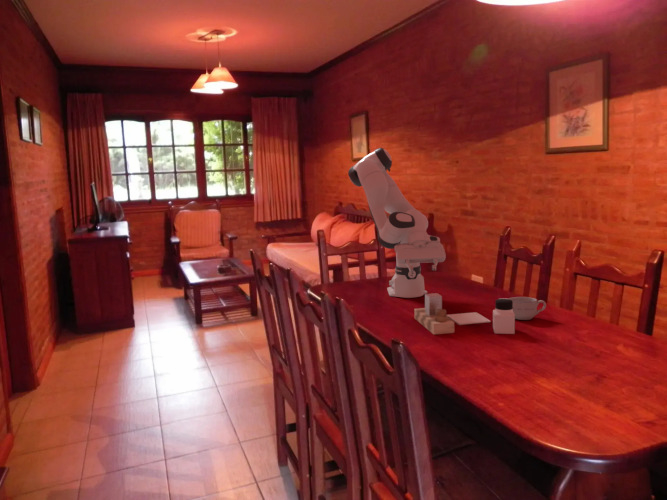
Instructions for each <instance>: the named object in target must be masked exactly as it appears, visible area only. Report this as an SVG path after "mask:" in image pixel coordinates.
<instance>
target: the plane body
mask: <svg viewBox="0 0 667 500" xmlns="http://www.w3.org/2000/svg"><path fill="white" fill-rule="evenodd" d="M413 312H414V315H413V316H414V320H416V321H417V322H418V323H419V324H420V325H422V326H423V327H424V328H425V329H427V331H428V332H430V333H431V334H432V335H443V334H454V333H455V322H454V321H453V320H451V319H450V318H449V317H447V316H446V315H447V309H445V308H442V309H437V310H436V317H428V316H427V315H426V314H425V307H419V308H414V310H413Z"/></svg>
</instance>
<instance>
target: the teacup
mask: <svg viewBox="0 0 667 500" xmlns="http://www.w3.org/2000/svg"><path fill="white" fill-rule="evenodd" d="M508 299H510V300H512V301H513V312H514V314H515V320H518V321H519V320H521V321H529V320H532V319H533V318H534V317H535V316H536V315H539V313H542V312H543V311H544V310H545V309H546V308H547V303H546V301H544V300H541V299H540V300H538V299H537V298H535V297H529V296H515V297H509V298H508ZM539 304H543V306H542V307H541V308H540V309H538V306H539Z"/></svg>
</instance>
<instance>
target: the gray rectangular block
mask: <svg viewBox="0 0 667 500" xmlns="http://www.w3.org/2000/svg"><path fill="white" fill-rule="evenodd" d="M424 308H425V314H426V315H427V316H428V317H436V310H437V309H443V296H442V295H441V294H439V293H437V292H436V293H435V292H434V293H433V292H432V293H427V294H424Z"/></svg>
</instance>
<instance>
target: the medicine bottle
mask: <svg viewBox="0 0 667 500" xmlns="http://www.w3.org/2000/svg"><path fill="white" fill-rule="evenodd" d="M494 302H495V306H494V307H495V308H494V309H493V310H492V328H493V333H494V334H501V335H502V334H503V335H504V334H505V335H515V333H516V319H515V314H514V312H513V301H512V300H510V299H509V298H504V297H503V298H498V299H495V301H494Z"/></svg>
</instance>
